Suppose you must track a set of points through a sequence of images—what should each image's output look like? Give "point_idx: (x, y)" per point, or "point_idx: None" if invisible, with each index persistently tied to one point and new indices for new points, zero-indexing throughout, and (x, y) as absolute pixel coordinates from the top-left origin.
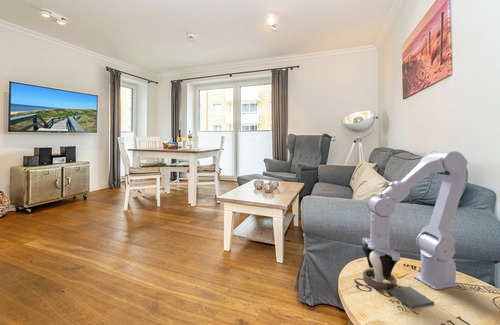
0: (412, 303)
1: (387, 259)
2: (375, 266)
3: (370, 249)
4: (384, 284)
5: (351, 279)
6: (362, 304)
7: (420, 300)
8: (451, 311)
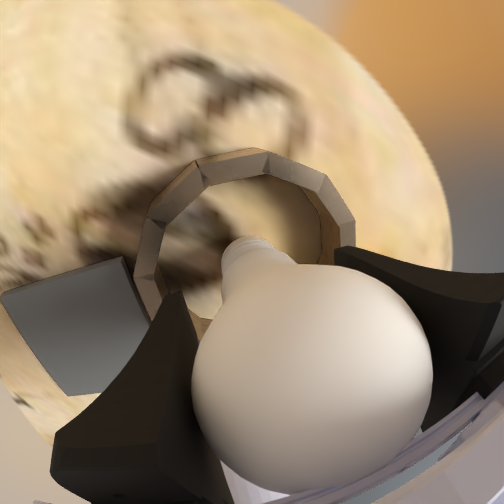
0: (21, 318)
1: (60, 483)
2: (247, 282)
3: (462, 363)
4: (137, 259)
5: (290, 69)
6: (11, 43)
7: (58, 362)
8: (46, 406)
